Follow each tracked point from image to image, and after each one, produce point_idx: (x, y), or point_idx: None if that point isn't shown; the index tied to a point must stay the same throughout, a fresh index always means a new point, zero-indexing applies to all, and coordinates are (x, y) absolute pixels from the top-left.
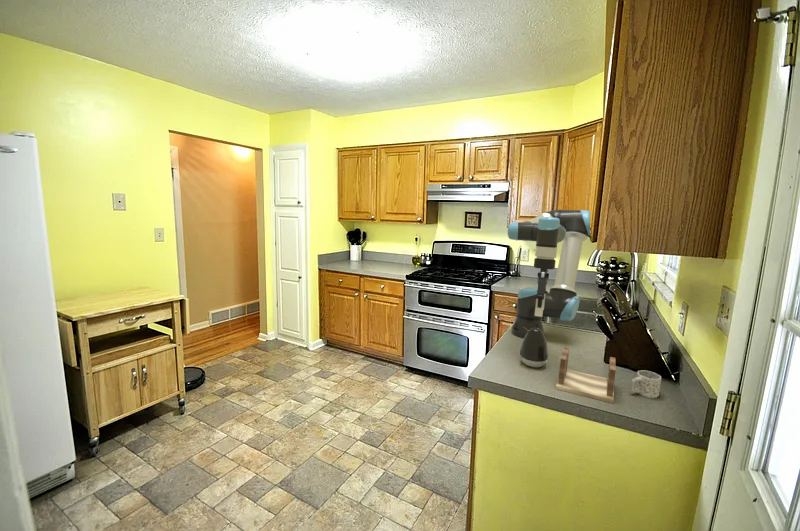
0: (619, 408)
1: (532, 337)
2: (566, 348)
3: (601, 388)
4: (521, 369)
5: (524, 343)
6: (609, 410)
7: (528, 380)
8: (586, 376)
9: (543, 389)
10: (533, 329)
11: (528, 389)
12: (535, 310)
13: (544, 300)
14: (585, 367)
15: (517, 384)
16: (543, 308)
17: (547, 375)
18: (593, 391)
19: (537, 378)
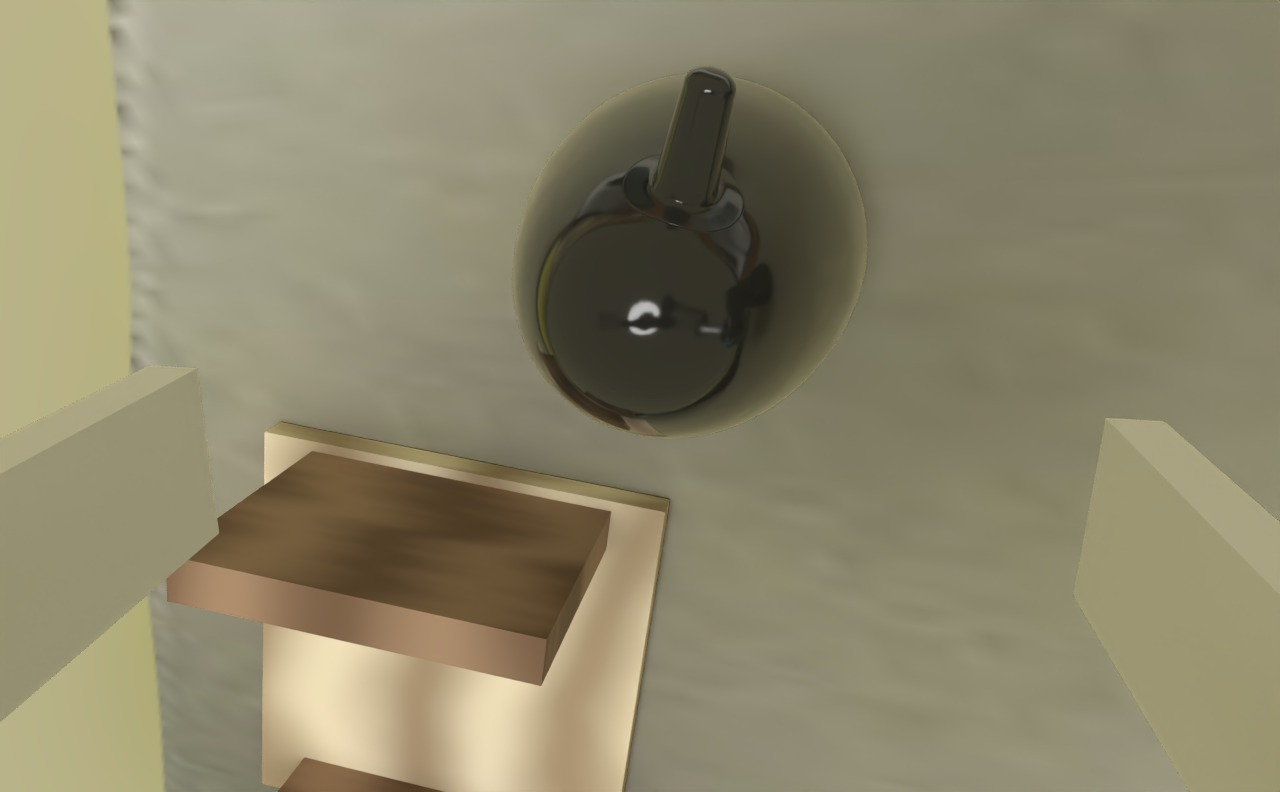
0: (230, 782)
1: (521, 257)
2: (525, 656)
3: (399, 750)
4: (528, 114)
5: (581, 131)
6: (169, 720)
7: (314, 197)
8: (575, 690)
9: (218, 326)
10: (573, 285)
11: (149, 204)
12: (61, 420)
13: (1185, 776)
14: (864, 717)
15: (183, 102)
16: (1090, 608)
17: (509, 368)
18: (318, 686)
19: (398, 277)
